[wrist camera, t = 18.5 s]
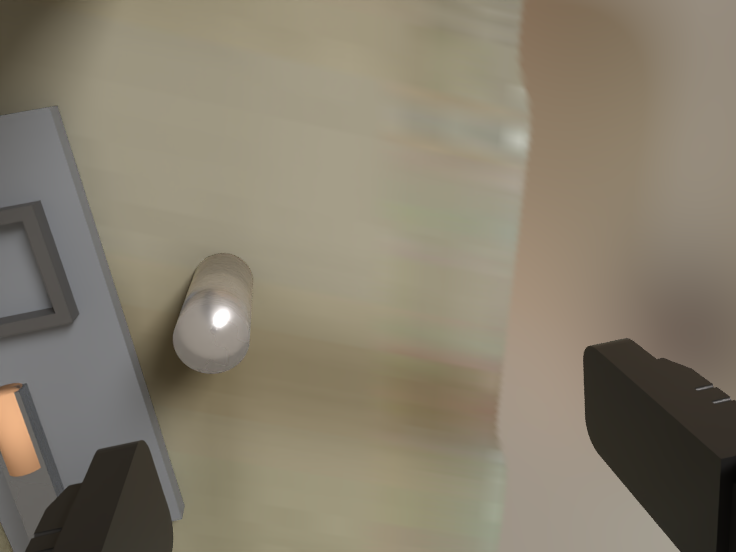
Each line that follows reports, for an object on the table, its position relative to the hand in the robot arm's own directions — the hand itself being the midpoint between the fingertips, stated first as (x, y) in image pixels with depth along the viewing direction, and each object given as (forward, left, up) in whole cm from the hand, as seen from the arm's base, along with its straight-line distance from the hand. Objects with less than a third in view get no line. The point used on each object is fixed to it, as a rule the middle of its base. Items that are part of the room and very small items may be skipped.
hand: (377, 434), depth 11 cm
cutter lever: (+17, -20, -26) cm, 37 cm away
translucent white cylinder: (+6, -7, -32) cm, 33 cm away
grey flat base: (+8, -20, -32) cm, 39 cm away
